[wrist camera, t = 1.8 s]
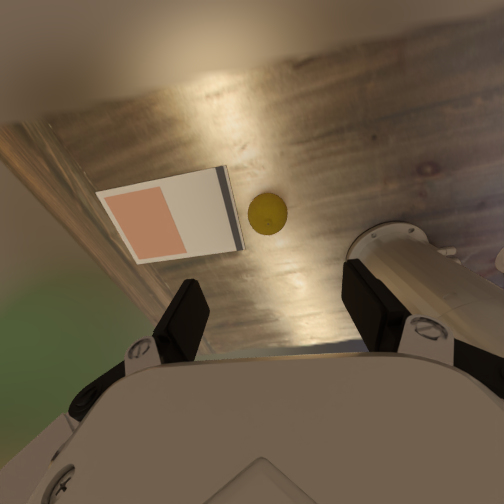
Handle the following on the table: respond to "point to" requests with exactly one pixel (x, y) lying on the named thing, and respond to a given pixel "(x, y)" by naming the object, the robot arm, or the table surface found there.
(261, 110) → the table surface
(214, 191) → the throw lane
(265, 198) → the lemon
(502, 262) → the base with upright slab
